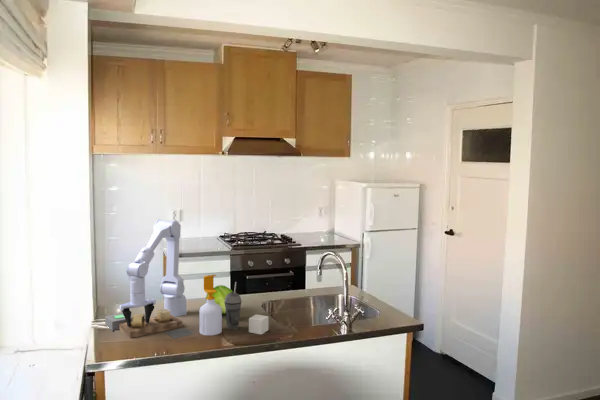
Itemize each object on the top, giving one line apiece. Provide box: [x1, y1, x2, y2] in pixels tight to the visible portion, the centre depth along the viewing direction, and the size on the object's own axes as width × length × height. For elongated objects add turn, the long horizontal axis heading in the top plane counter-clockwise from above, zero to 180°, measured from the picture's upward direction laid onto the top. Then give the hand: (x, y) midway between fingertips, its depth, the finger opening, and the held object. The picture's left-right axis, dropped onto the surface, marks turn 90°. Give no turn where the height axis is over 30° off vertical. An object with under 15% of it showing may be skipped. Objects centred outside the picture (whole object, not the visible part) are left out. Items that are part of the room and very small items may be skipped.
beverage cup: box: [224, 281, 243, 331], centre depth 215 cm, size 7×7×20 cm
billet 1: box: [132, 313, 145, 329], centre depth 209 cm, size 4×4×7 cm
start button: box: [114, 315, 125, 319], centre depth 217 cm, size 4×4×3 cm
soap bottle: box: [198, 274, 223, 336], centre depth 209 cm, size 9×9×25 cm
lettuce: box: [205, 284, 234, 315], centre depth 234 cm, size 14×20×12 cm
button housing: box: [104, 312, 133, 332], centre depth 217 cm, size 9×9×4 cm
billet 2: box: [156, 308, 170, 324], centre depth 216 cm, size 4×4×7 cm
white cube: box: [248, 313, 269, 335], centre depth 213 cm, size 6×6×6 cm
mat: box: [164, 327, 195, 339], centre depth 208 cm, size 9×9×1 cm
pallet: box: [119, 314, 183, 339], centre depth 213 cm, size 22×12×3 cm, turn 129°
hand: (138, 324), depth 210 cm, fingers open, 7 cm apart
